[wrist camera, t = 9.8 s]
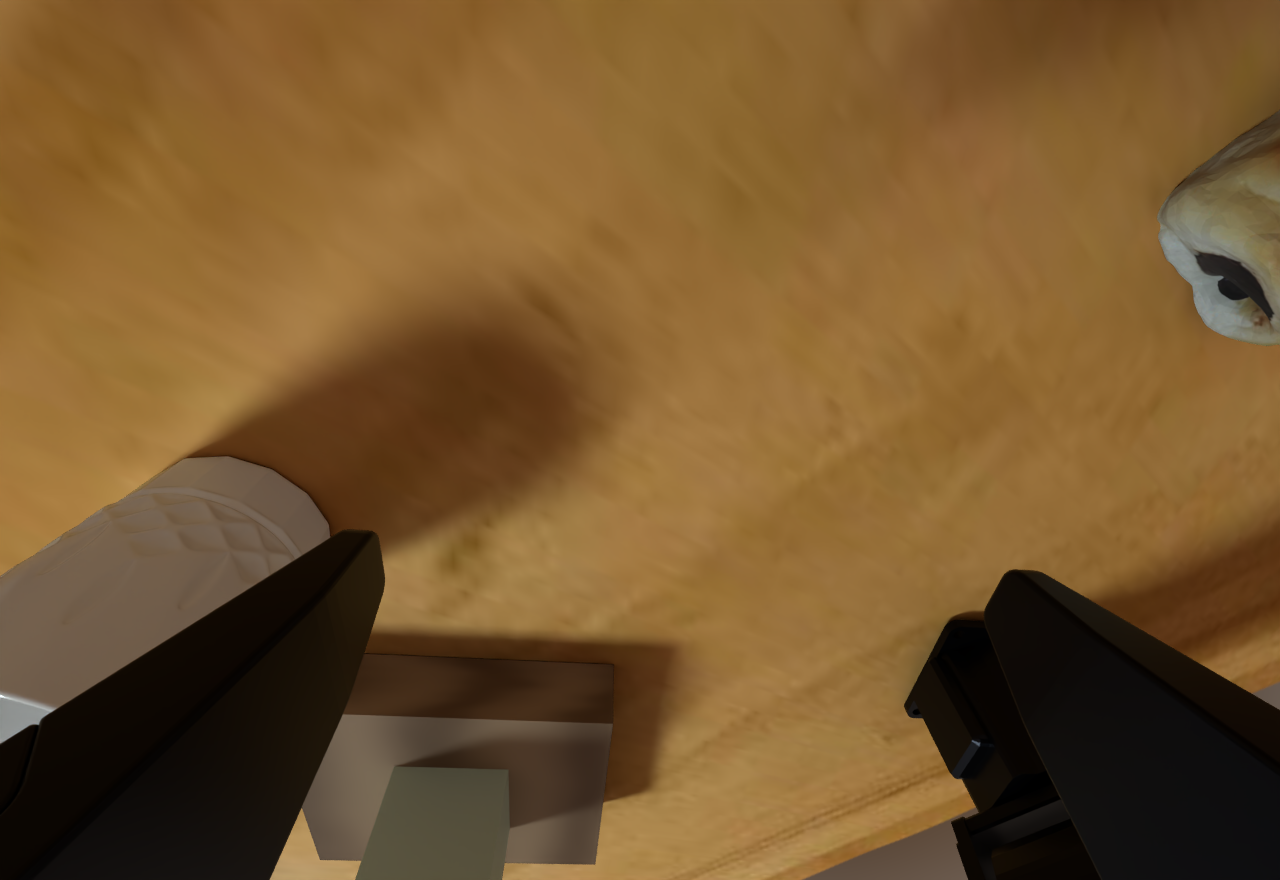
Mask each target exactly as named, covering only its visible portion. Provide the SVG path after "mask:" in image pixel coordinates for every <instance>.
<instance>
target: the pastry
mask: <svg viewBox="0 0 1280 880" xmlns="http://www.w3.org/2000/svg"><path fill="white" fill-rule="evenodd" d="M1157 220H1158V221H1159V223H1160V224H1161V229H1160V232H1159V235H1158V238H1159V241H1160V243H1161V246H1162V248H1163V252H1164V255H1165V257H1166V259H1167V260H1168V261H1169V262H1170V263H1171V264H1173V265H1174V267H1175V268H1176V270H1177V272H1178V273H1179V274H1180V275H1181V276H1182V277H1183V278H1184V279H1185V280H1186V281H1188V282H1189V283H1190V284H1191V285H1192V287H1193V297H1194V302H1195V306H1196V309H1197V311H1198V313H1199V315H1200V316H1201V318H1202V320H1203V322H1204V323H1205V324H1206V325H1207V326H1208V327H1209V328H1210V329H1212V330H1214V331H1216V332H1218V333H1219V334H1222V335H1224V336H1226V337H1228V338H1232V339H1235V340H1239V341H1243V342H1247V343H1252V344H1256V345H1263V346H1271V345H1280V110H1279V111H1278V112H1276V113H1275V114H1274V115H1272V116H1271V117H1270V118H1268V119H1267V120H1265V121H1264V122H1262V123H1261V124H1259V125H1258V126H1256V127H1255V128H1253V129H1252V130H1250V131H1249V132H1247V133H1245V134H1243V135H1241V136H1240V137H1238V138H1236V139H1235V140H1234V141H1232V142H1231V143H1230V144H1229V145H1227V146H1226V147H1225V148H1224V149H1222V150H1221V151H1219V152H1218V153H1217V154H1215V155H1214V156H1213V157H1212V158H1211V159H1209V160H1208V161H1207V162H1206V163H1204V164H1203V165H1202V166H1200V167H1199V168H1197V169H1196V170H1195V171H1194V172H1193V173H1191V174H1190V175H1189V176H1188V177H1187V178H1186V179H1185V181H1183V182H1182V183H1181V184H1180V185H1179V186H1178V187H1177V188H1175V189H1174V190H1173V192H1172V193H1171V194H1170V195H1169V196H1168V197H1167V199H1166V200H1165V202H1164V204H1163V205H1162V207H1161V208H1160V210H1159V213H1158V216H1157Z"/></svg>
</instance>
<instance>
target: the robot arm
mask: <svg viewBox="0 0 1280 880" xmlns="http://www.w3.org/2000/svg"><path fill="white" fill-rule="evenodd" d="M384 586H385V573H384V567H383V561H382V554H381V548H380V542H379V538H378V536H377V534H376V533H375V532H373V531H369V530H353V529H347V530H342V531H340V532H338V533H337V534H335V535H333V536H332V537H330V538H329V539H327V540H325V541H324V542H322V543H321V544H319V545H317V546H316V547H314V548H313V549H311V550H309V551H308V552H306V553H305V554H303V555H301V556H300V557H298V558H297V559H295V560H293V561H292V562H290V563H289V564H287V565H285V566H284V567H282V568H281V569H279V570H278V571H276V572H274V573H273V574H271V575H270V576H268V577H266V578H265V579H263V580H262V581H260V582H258V583H257V584H255V585H254V586H252V587H250V588H249V589H247V590H246V591H244V592H242V593H241V594H239V595H238V596H236V597H234V598H233V599H231V600H230V601H228V602H226V603H225V604H223V605H222V606H220V607H218V608H217V609H215V610H214V611H212V612H210V613H209V614H207V615H206V616H204V617H202V618H201V619H199V620H198V621H196V622H194V623H193V624H191V625H190V626H188V627H186V628H185V629H183V630H182V631H180V632H178V633H177V634H175V635H174V636H172V637H170V638H169V639H167V640H166V641H164V642H162V643H161V644H159V645H158V646H156V647H154V648H153V649H151V650H150V651H148V652H146V653H145V654H143V655H142V656H140V657H138V658H137V659H135V660H134V661H132V662H130V663H129V664H127V665H126V666H124V667H122V668H121V669H119V670H118V671H116V672H114V673H113V674H111V675H110V676H108V677H106V678H105V679H103V680H102V681H100V682H98V683H97V684H95V685H94V686H92V687H90V688H89V689H87V690H86V691H84V692H82V693H81V694H79V695H78V696H76V697H74V698H73V699H71V700H70V701H68V702H66V703H65V704H63V705H62V706H60V707H58V708H57V709H55V710H54V711H52V712H50V713H49V714H47V715H46V716H44V717H43V718H42V719H41V720H40V722H39V725H37V724H32V725H29V726H28V727H26V728H24V729H23V730H21V731H20V732H18V733H16V734H15V735H13V736H12V737H10V738H8V739H7V740H5V741H4V742H2V743H0V880H270V878H271V875H272V873H273V871H274V869H275V866H276V864H277V862H278V860H279V857H280V855H281V853H282V851H283V848H284V846H285V844H286V842H287V839H288V837H289V835H290V833H291V830H292V828H293V826H294V824H295V821H296V819H297V817H298V815H299V812H300V810H301V808H302V806H303V803H304V801H305V799H306V797H307V794H308V792H309V790H310V788H311V785H312V783H313V781H314V779H315V776H316V774H317V772H318V770H319V767H320V765H321V763H322V761H323V758H324V756H325V754H326V752H327V749H328V747H329V745H330V743H331V740H332V738H333V736H334V733H335V731H336V729H337V727H338V724H339V722H340V720H341V718H342V715H343V713H344V710H345V708H346V706H347V703H348V701H349V698H350V695H351V692H352V689H353V687H354V684H355V681H356V678H357V674H358V671H359V668H360V665H361V662H362V659H363V655H364V652H365V649H366V646H367V643H368V640H369V636H370V633H371V630H372V627H373V624H374V621H375V618H376V614H377V611H378V608H379V605H380V602H381V599H382V595H383V592H384ZM904 708H905V710H906V712H907V714H908V716H909V717H911V718H923V719H924V721H925V723H926V725H927V727H928V730H929V732H930V734H931V736H932V738H933V740H934V742H935V744H936V746H937V748H938V750H939V752H940V754H941V756H942V758H943V760H944V762H945V764H946V766H947V768H948V770H949V772H950V773H951V774H952V776H953V777H954V778H956V779H962V780H963V782H964V784H965V786H966V788H967V790H968V792H969V794H970V796H971V798H972V800H973V802H974V804H975V806H976V808H977V810H978V812H979V813H977V814H975V815H972V816H970V817H968V818H965V817H961V818H958V819H956V820H953V821H951V824H952V827H953V830H954V832H955V835H956V838H957V841H958V843H957V844H956V845H957V849H958V852H959V854H960V857H961V860H962V863H963V866H964V869H965V872H966V875H967V877H968V880H1280V710H1279V709H1277V708H1275V707H1274V706H1272V705H1270V704H1269V703H1267V702H1265V701H1263V700H1262V699H1260V698H1258V697H1256V696H1255V695H1253V694H1251V693H1250V692H1248V691H1246V690H1244V689H1243V688H1241V687H1239V686H1237V685H1236V684H1234V683H1232V682H1231V681H1229V680H1227V679H1225V678H1224V677H1222V676H1220V675H1218V674H1217V673H1215V672H1213V671H1212V670H1210V669H1208V668H1206V667H1205V666H1203V665H1201V664H1199V663H1198V662H1196V661H1194V660H1193V659H1191V658H1189V657H1187V656H1186V655H1184V654H1182V653H1180V652H1179V651H1177V650H1175V649H1174V648H1172V647H1170V646H1168V645H1167V644H1165V643H1163V642H1161V641H1160V640H1158V639H1156V638H1155V637H1153V636H1151V635H1149V634H1148V633H1146V632H1144V631H1142V630H1141V629H1139V628H1137V627H1136V626H1134V625H1132V624H1130V623H1129V622H1127V621H1125V620H1123V619H1122V618H1120V617H1118V616H1117V615H1115V614H1113V613H1111V612H1110V611H1108V610H1106V609H1104V608H1103V607H1101V606H1099V605H1098V604H1096V603H1094V602H1092V601H1091V600H1089V599H1087V598H1085V597H1084V596H1082V595H1080V594H1079V593H1077V592H1075V591H1073V590H1072V589H1070V588H1068V587H1066V586H1065V585H1063V584H1061V583H1060V582H1058V581H1056V580H1054V579H1053V578H1051V577H1049V576H1047V575H1046V574H1044V573H1042V572H1039V571H1034V570H1017V569H1014V570H1009V571H1008V572H1007V573H1005V574H1004V575H1003V577H1002V579H1001V580H1000V582H999V584H998V586H997V588H996V589H995V591H994V593H993V595H992V597H991V598H990V600H989V602H988V604H987V606H986V608H985V611H984V621H971V620H954V621H951V622H949V623H948V624H947V625H946V626H945V627H944V629H943V631H942V633H941V635H940V637H939V639H938V641H937V642H936V644H935V646H934V648H933V650H932V652H931V654H930V656H929V658H928V660H927V662H926V664H925V666H924V668H923V669H922V671H921V673H920V675H919V677H918V679H917V681H916V683H915V685H914V687H913V689H912V691H911V693H910V695H909V696H908V698H907V700H906V702H905V704H904Z"/></svg>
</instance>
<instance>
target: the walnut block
mask: <svg viewBox="0 0 1280 880" xmlns="http://www.w3.org/2000/svg"><path fill="white" fill-rule="evenodd" d="M613 684H614V665H609V664H586V663H563V662H540V661H517V660H494V659H471V658H448V657H425V656H402V655H379V654H364V655H363V659H362V662H361V665H360V668H359V671H358V674H357V678H356V681H355V684H354V687H353V689H352V692H351V695H350V698H349V701H348V703H347V706H346V708H345V710H344V713H343V715H342V718H341V720H340V722H339V724H338V727H337V729H336V731H335V733H334V736H333V738H332V740H331V743H330V745H329V747H328V749H327V752H326V754H325V756H324V758H323V761H322V763H321V765H320V767H319V770H318V772H317V774H316V776H315V779H314V781H313V783H312V785H311V788H310V790H309V792H308V794H307V797H306V799H305V801H304V803H303V806H302V809H303V812H304V815H305V818H306V821H307V824H308V827H309V829H310V832H311V835H312V838H313V841H314V844H315V847H316V850H317V852H318V855H319V858H320V860H354V861H362V858H363V856H364V853H365V850H366V847H367V844H368V841H369V838H370V835H371V832H372V829H373V826H374V823H375V821H376V818H377V815H378V812H379V809H380V806H381V803H382V800H383V797H384V794H385V791H386V789H387V786H388V783H389V780H390V777H391V774H392V771H393V768H394V766H396V767H433V768H469V769H506V770H508V775H509V815H510V831H509V837H508V844H507V850H506V857H505V863H534V864H595V862H596V854H597V846H598V838H599V830H600V823H601V815H602V807H603V799H604V791H605V783H606V775H607V768H608V760H609V752H610V744H611V736H612V728H613Z"/></svg>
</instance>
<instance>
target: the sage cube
mask: <svg viewBox="0 0 1280 880" xmlns="http://www.w3.org/2000/svg"><path fill="white" fill-rule="evenodd" d="M509 831H510V815H509V775H508V770H506V769H469V768H433V767H396V766H394V768H393V771H392V774H391V777H390V780H389V783H388V786H387V789H386V791H385V794H384V797H383V800H382V803H381V806H380V809H379V812H378V815H377V818H376V821H375V823H374V826H373V829H372V832H371V835H370V838H369V841H368V844H367V847H366V850H365V853H364V856H363V858H362V861H361V864H360V867H359V870H358V873H357V876H356V879H355V880H502V876H503V870H504V863H505V857H506V850H507V844H508V837H509Z"/></svg>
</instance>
